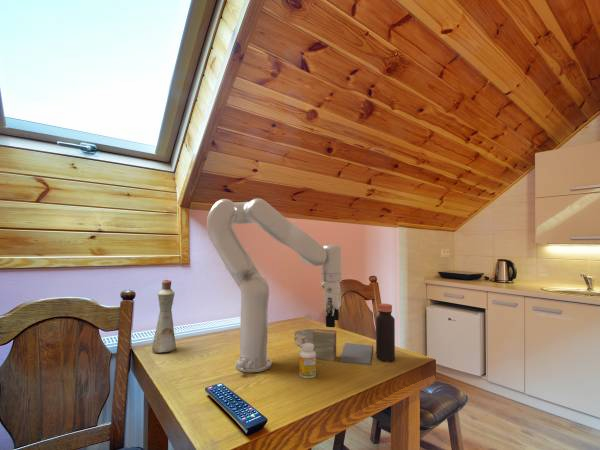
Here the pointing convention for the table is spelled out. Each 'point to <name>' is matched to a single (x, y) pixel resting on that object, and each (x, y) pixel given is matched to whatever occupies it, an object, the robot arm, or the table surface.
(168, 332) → the bottle
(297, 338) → the grey rock
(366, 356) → the mat
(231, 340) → the table surface
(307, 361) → the supplement bottle
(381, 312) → the vinegar
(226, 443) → the table surface
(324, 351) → the slab
